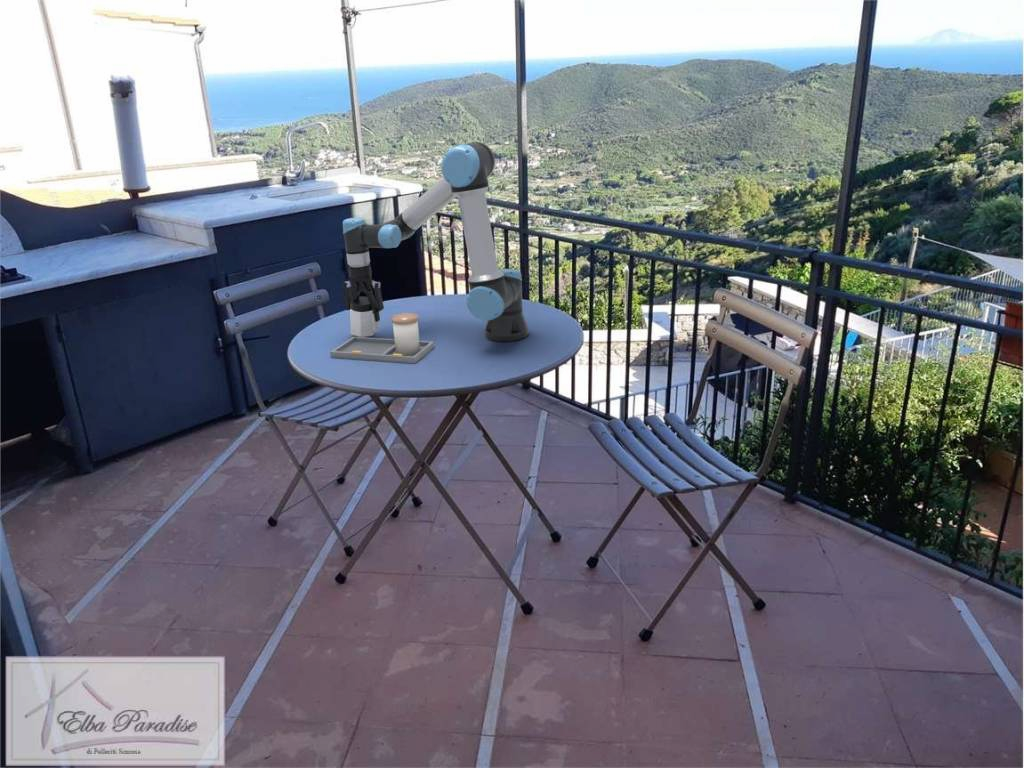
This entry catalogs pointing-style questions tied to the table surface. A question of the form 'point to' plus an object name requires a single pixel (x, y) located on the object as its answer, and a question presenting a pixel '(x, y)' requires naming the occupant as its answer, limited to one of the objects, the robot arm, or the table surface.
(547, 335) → the table surface
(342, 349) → the divided grey tray
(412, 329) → the white jar with lid
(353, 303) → the jar
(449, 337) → the table surface
